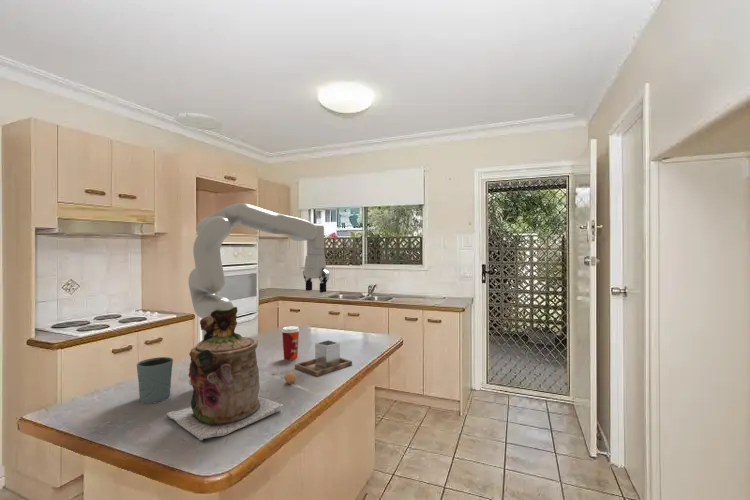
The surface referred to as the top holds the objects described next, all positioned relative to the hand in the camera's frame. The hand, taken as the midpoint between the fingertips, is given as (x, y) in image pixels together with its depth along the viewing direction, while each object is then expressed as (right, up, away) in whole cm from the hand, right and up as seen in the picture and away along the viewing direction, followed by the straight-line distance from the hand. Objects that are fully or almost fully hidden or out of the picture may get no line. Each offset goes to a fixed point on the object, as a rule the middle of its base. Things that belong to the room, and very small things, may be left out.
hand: (315, 291), depth 162 cm
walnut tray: (+5, -30, -14) cm, 33 cm away
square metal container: (+7, -29, -12) cm, 32 cm away
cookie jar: (-18, -31, -54) cm, 64 cm away
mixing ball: (-5, -30, -29) cm, 42 cm away
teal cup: (-46, -31, -41) cm, 69 cm away
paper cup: (-11, -30, -2) cm, 32 cm away
